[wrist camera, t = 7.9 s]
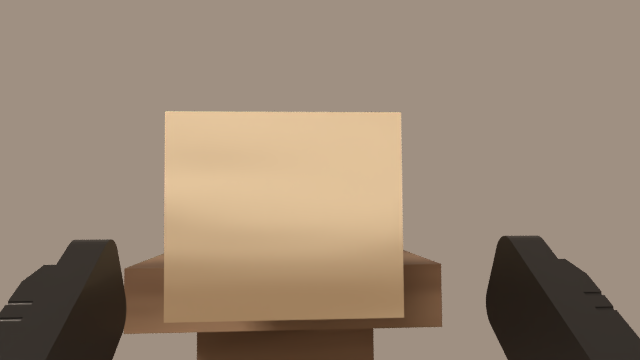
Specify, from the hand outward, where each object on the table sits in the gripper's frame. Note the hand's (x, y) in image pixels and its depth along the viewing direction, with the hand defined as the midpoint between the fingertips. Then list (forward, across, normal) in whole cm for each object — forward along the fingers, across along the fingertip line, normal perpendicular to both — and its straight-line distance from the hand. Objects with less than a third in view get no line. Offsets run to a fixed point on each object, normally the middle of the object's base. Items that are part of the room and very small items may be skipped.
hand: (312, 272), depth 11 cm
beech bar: (+6, -1, -4) cm, 7 cm away
